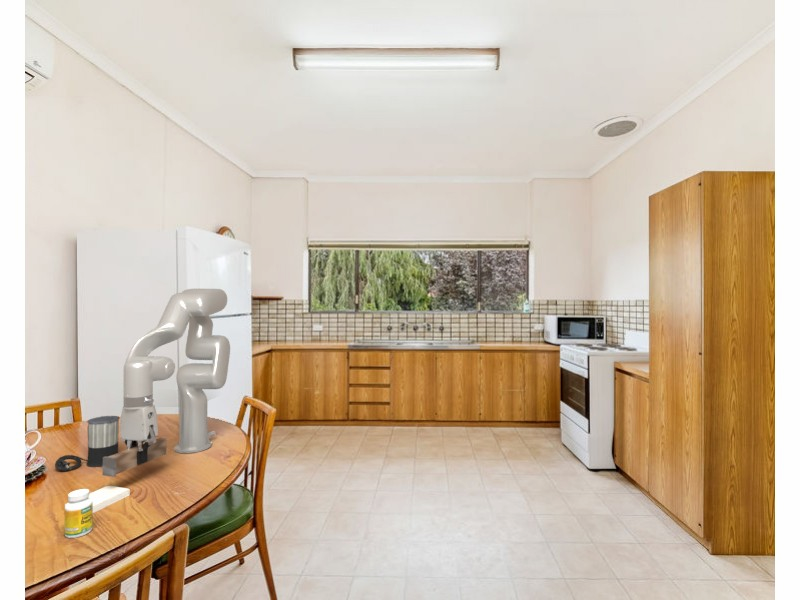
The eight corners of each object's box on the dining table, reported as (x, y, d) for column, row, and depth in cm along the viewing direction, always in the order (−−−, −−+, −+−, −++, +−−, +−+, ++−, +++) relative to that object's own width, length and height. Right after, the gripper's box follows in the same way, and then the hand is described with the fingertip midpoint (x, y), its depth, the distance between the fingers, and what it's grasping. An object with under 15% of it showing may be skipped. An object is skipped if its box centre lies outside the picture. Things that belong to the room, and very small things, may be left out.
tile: (108, 485, 123) (65, 504, 111) (129, 488, 121) (87, 508, 109) (108, 493, 123) (65, 512, 111) (129, 496, 121) (87, 517, 109)
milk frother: (126, 458, 149) (126, 416, 149) (81, 476, 134) (81, 429, 134) (94, 454, 153) (95, 413, 153) (47, 471, 137) (48, 425, 137)
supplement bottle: (75, 527, 104) (75, 487, 104) (97, 526, 104) (98, 487, 104) (58, 539, 98) (58, 497, 98) (82, 538, 99) (82, 497, 99)
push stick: (158, 453, 137) (158, 437, 137) (168, 454, 136) (168, 438, 136) (102, 475, 119) (102, 457, 119) (113, 476, 118) (113, 458, 118)
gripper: (169, 400, 129) (169, 461, 129) (128, 397, 134) (128, 455, 134) (148, 406, 122) (148, 470, 122) (106, 402, 127) (105, 464, 127)
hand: (138, 462), depth 128 cm, fingers closed on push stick, 2 cm apart
